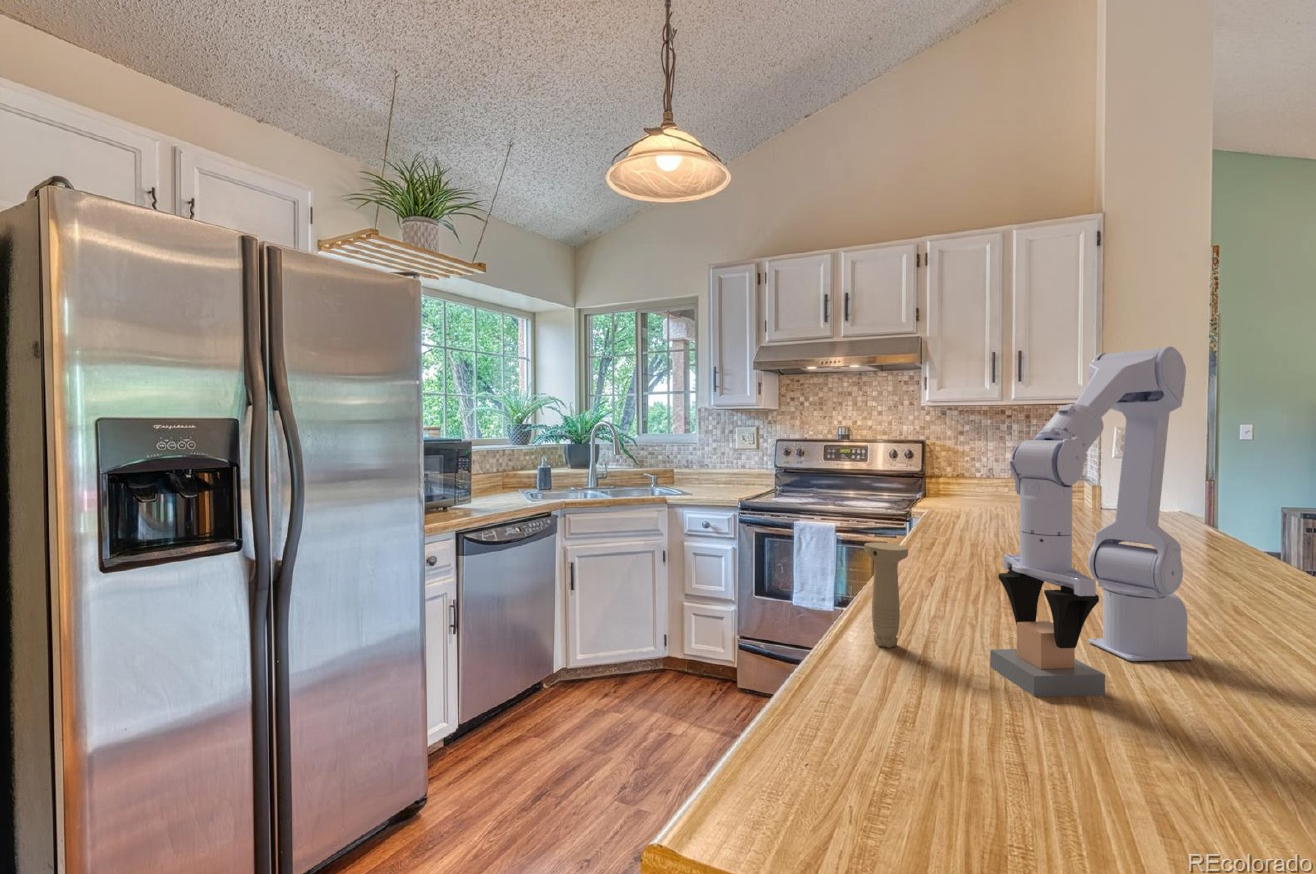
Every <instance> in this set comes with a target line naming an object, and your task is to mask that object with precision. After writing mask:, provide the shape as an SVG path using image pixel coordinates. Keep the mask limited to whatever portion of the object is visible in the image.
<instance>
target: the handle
mask: <svg viewBox="0 0 1316 874" xmlns="http://www.w3.org/2000/svg"><path fill="white" fill-rule="evenodd" d="M863 547H864V549H863V550H864V553H865V554H866V555H868V556H869V557H870V558H872V560H873V566H874V567H873V585H872V599H871V600H872V601H871V618H872V619H871V620H872V621H871V622H872V629H873V630H872V631H873V640H874V643H875V644H876V645H877V646H878V647H881V648H883V647H884V648H887V649H888V648H889V649H891V648H894V647H896V646H897V645H898V641H899V640H898V639H899V638H898V637H897V636H898V635H899V628H900V619H901V618H900V616H901V614H900V611H901V610H900V609H901V608H900V607H901V603H900V593H899V590H900V589H899V573H898V568H899V562H900V561H902V560H905V559H906V558H907V557H908V556H909V548H908V547H906V546H904V545H900V544H895V543H889V542H881V541H880V542H876V541H875V542H866V543H864V544H863Z"/></svg>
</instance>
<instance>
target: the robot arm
mask: <svg viewBox="0 0 1316 874" xmlns="http://www.w3.org/2000/svg"><path fill="white" fill-rule="evenodd" d="M1186 375H1187V367H1186V364H1185V362H1184V359H1183V355H1182V354H1181V352H1180V351H1179V350H1177V349H1176V347H1174V346H1169V345H1168V346H1164V347H1162V348H1151V349H1142V350H1131V351H1121V352H1111V353H1108V352H1107V353H1106V352H1101V353H1098V354H1096V355H1095V356H1094V357H1093V359H1092V360H1091V362H1090V363H1089V365H1088V383H1087V384H1086V386H1085V387H1084V389H1083V390H1082V392H1081V394H1080V395H1079V396H1078V397H1077V398H1078V399H1077V400H1076V401H1075V403H1069V404H1065V405H1061V406H1059V408H1058V409H1057V411H1055V413H1054V415H1053V416H1051V418H1050V420H1049V421H1047V423H1045V425H1044V426H1043V427H1042V429H1041V430H1040V431H1039V432H1038V434H1036V436H1035V437H1034V438H1033V439H1026V440H1023V441H1022V442H1021V443H1019V444H1017V445H1016V446H1015V447H1014V450H1013V451H1012V455H1011V460H1009V468H1010V472H1011V475H1012V477H1013V480H1014V484H1015V485H1014V489H1015V492H1016V495H1017V496H1019V499H1020V500H1019V554H1003V556H1002V557H1003V560H1002V561H1003V563H1002V565H1003V566H1002V568H1003V569H1005V570H1007V572H1000V573H998V580H999V581H1000V583H1001V584H1002V586H1003V588H1004V589H1005V593H1006V595H1007V596H1008V599H1009V602H1010V605H1011V609H1012V613H1013V616H1014V618H1013V619H1014V621H1015V624H1016V626H1017V622H1037V616H1038V604H1039V603H1038V602H1039V599H1040V596H1041V590H1042V589H1043V585H1044V583H1048V584H1051V585H1054V586H1057V587H1059V588H1060V589H1044V591H1043V593H1044V596H1045V598H1046V600H1047V603H1048V605H1049V606H1048V607H1049V608H1050V611H1051V617H1052V621H1053V622H1052V623H1053V625H1054V637H1055V642H1056V646H1057V647H1059V648H1075V649H1076V647H1077V644H1078V642H1079V639H1080V636H1081V632H1082V630H1083V627H1084V625H1085V622H1086V620H1087V618H1088V617H1089V615H1090V613H1091V612H1092V610H1093V609H1094V608H1095V607H1096V606H1097V604H1098V603H1099V602H1100V595H1098V594H1096V592H1097V591H1096V585H1098V587H1099V588H1103V592H1102V593H1103V598H1102V600H1103V603H1102V604H1103V605H1102V606H1103V609H1102V610H1103V612H1102V614H1103V616H1102V637H1101V638H1098V637H1097V638H1088V639H1087V642H1088V643H1089V644H1092V645H1093V646H1096V647H1098V648H1101V649H1102V650H1105V651H1107V652H1110V653H1112V654H1114V655H1116V656H1118V657H1120V658H1123V659H1124V660H1127V661H1130V662H1138V661H1139V662H1141V661H1142V662H1144V661H1145V662H1147V661H1183V660H1193V658H1194V657H1193V656H1192V655H1191V654H1188V611H1187V608H1186V605H1185V604H1184V602H1183V601H1182V599H1181V598H1180V597H1179V596H1178V595H1177V594H1176V591H1178V589H1179V588H1180V586H1181V584H1182V582H1183V577H1184V567H1183V562H1182V547H1181V544H1180V543H1179V541H1178V540H1177V539H1175V538H1174V537H1173V536H1172V535H1170V534H1169V533H1168V532H1166V531H1165V530H1164V529H1163V528H1162V527H1161V526H1159V521H1160V520H1159V519H1160V509H1161V499H1162V490H1163V489H1162V488H1163V482H1164V481H1163V479H1164V470H1165V462H1166V460H1165V459H1166V450H1167V440H1168V430H1169V422H1170V414H1171V413H1172V412H1173V411H1175V410H1178V409H1180V408H1181V407H1182V406H1183V399H1184V396H1185V385H1186V378H1187V377H1186ZM1110 410H1113V411H1116V412H1118V413H1121V414H1122V415H1123V416H1124V418H1125V427H1124V437H1123V444H1122V445H1123V446H1122V457H1121V465H1120V475H1119V483H1118V492H1117V502H1116V512H1115V520H1114V521H1113V522H1112V523H1110V524H1108V525H1107V526H1105V527H1103V528H1101V529H1098V530H1097V531H1096V532H1095V536H1094V541H1093V545H1092V547H1091V548H1090V549H1091V550H1090V551H1089V554H1088V558H1087V559H1088V560H1087V565H1088V570H1089V572H1090V574H1091V576H1092V578H1091V577H1089V576H1086V575H1085V574H1083V573H1082V572H1080V571H1078V570H1076V569H1075V568H1074V567H1073V486H1074V485H1075V484H1076V483H1078V482H1079V481H1080V480H1081V478H1082V475H1083V471H1084V466H1085V462H1086V461H1087V457H1088V455H1087V452H1088V450H1089V449H1090V448H1091V447H1092V445H1093V444H1094V443H1095V441H1096V440H1097V439H1098V437H1100V435H1101V434H1102V432H1103V431H1104V427H1105V426H1104V421H1103V417H1104V416H1105V415H1106V413H1108V412H1109V411H1110ZM1123 542H1129V543H1137V544H1143V545H1149V546H1152V547H1154V548H1152V547H1146V546H1145V547H1144V546H1137V545H1131V544H1125V543H1123ZM1096 582H1097V584H1096Z"/></svg>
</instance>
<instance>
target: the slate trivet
mask: <svg viewBox="0 0 1316 874" xmlns="http://www.w3.org/2000/svg"><path fill="white" fill-rule="evenodd" d="M989 657H990V665H989V666H990V667H991V668H993V669H994V670H995V671H994V670H993V669H992V670H993V671H994V672H996V671H997V672H998V673H997V672H996V673H997V674H999V673H1000V674H999V675H1000V676H1002V677H1004V678H1005V679H1006V680H1008V681H1009V682H1011V683H1012V684H1014V685H1016V686H1017V687H1018V688H1021V690H1023V691H1025V692H1026V693H1028V694H1029V693H1030V694H1029V695H1031V694H1032V695H1033V697H1034V698H1036V697H1038V696H1040V697H1041V696H1043V697H1071V696H1072V697H1074V696H1075V697H1076V696H1077V697H1078V696H1079V697H1080V696H1105V695H1106V674H1105V673H1103V672H1101V671H1100V670H1097V669H1096V668H1094V667H1092V666H1090V665H1088V664H1086V663H1085V662H1081V661H1080V660H1078V659H1076V658H1075V665H1074V668H1055V669H1040V668H1038V667H1036V666H1035V665H1033V664H1031V663H1029V662H1027V661H1025V660H1024V659H1022V658H1020V657H1018V656H1017V648H1002V649H1001V648H998V649H995V648H994V649H990V656H989ZM991 668H990V669H991ZM1032 695H1031V696H1032Z"/></svg>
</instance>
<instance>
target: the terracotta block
mask: <svg viewBox="0 0 1316 874" xmlns="http://www.w3.org/2000/svg"><path fill="white" fill-rule="evenodd" d="M1016 649H1017V656H1018V657H1020V658H1022V659H1024V660H1025V661H1027V662H1029V663H1031V664H1033V665H1035V666H1036V667H1038V668H1040V669H1055V668H1074V665H1075V659H1076V658H1075V656H1076V655H1075V653H1076V652H1075V650H1076V648H1059V647H1057V646H1056V642H1055V637H1054V625H1053V622H1052V621H1049V620H1046V621H1045V620H1044V621H1042V620H1041V621H1036V622H1017V625H1016Z"/></svg>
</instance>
